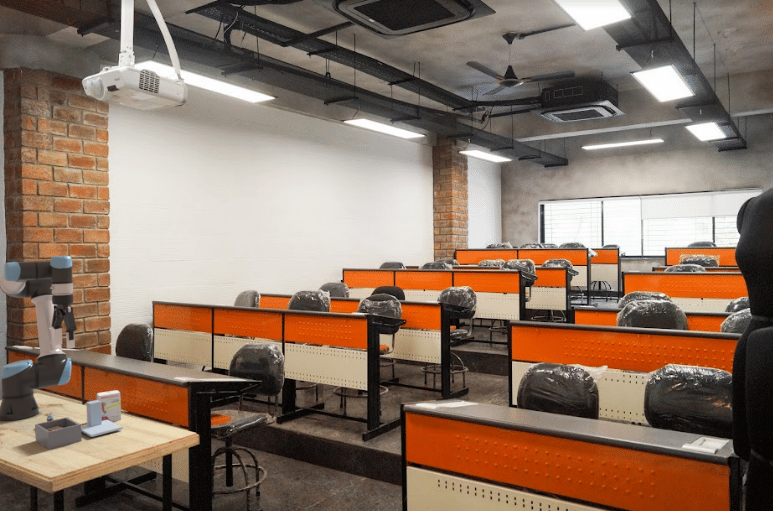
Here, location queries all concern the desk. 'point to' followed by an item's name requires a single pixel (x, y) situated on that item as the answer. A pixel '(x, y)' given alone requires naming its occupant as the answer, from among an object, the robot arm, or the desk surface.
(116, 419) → the ink box
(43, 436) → the tub
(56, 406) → the desk surface
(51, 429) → the walnut part
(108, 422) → the lid
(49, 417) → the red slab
